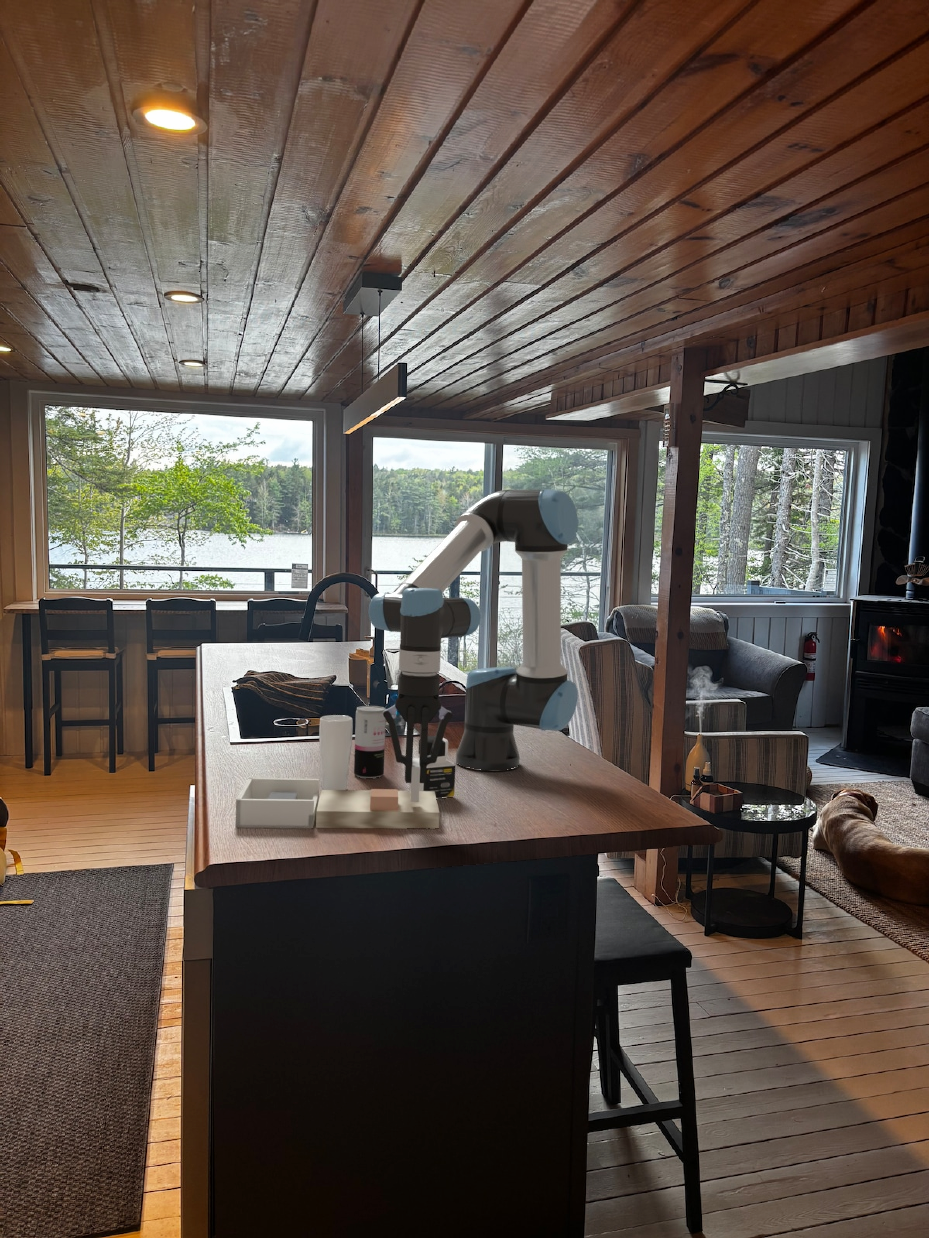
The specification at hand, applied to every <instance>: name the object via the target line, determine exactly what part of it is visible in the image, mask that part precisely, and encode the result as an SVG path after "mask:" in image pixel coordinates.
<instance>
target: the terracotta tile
mask: <svg viewBox="0 0 929 1238" xmlns="http://www.w3.org/2000/svg"><path fill="white" fill-rule="evenodd" d="M370 790H371V797H370V810H398V791H399V789H398V788H394V789H391V788H390V789H389V788H388V789H387V788H385V789H384V788H370Z"/></svg>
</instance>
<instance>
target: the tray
mask: <svg viewBox="0 0 929 1238" xmlns="http://www.w3.org/2000/svg"><path fill="white" fill-rule="evenodd" d="M271 792H297V799H268V797H269V795H270V793H271ZM319 798H320V778H289V777H287V778H282V777H281V778H278V777H277V778H276V777H248V778H247V780H246V782H245V783H244V785H243V787H242V788H241V791H240V793H239V794H238V796H237V798H236V799H235V829H238V828H239V829H311V828H313V829H314V826H315V823H316V811H317V807H318V802H319Z"/></svg>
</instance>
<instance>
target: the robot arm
mask: <svg viewBox="0 0 929 1238" xmlns="http://www.w3.org/2000/svg"><path fill="white" fill-rule="evenodd" d="M578 531H579V517H578V512H577V508H576V505H575V503H574V501H573V499H572V497H571V496H570V495H569V494H568V493H567V492H565V491H564V490H559V489H551V488H550V489H548V488H543V489H542V488H541V489H501V490H498V491H495V492H492V493H490V494H488V495H487V496H484V497H483V498H481V499H479V500H477V502H475V503H474V504H472V505H470V506H469V507H468V508H467V509H466V510H465V511H464V512H463V513H461V514H460V516H459V517H458V518H457V519H456V522H455V525H454V528H453V529H452V530H451V532H449V534H447V536H446V537H444V539H443V540H442V541H440V543H438V544H437V546H436V547H435V548H434V549H433V550H432V551H431V552H430V553H429V554H428V555H427V557H425V558H424V559H423V561H422V562H420V563H419V565H417V567H416V568H415V569H414V570H413V571H412V572H410V574H409V575H408V576H407V577H406V578H405V579H404V580H403V581H402V582H401V583H400V584H399V586H398V587H397V588H395V589H394V590H393V592H388V591H387V592H379V593H377V594H375V595H374V596H372V598H371V601H370V602H369V606H368V612H367V613H368V618H369V621H370V623H371V624H372V626H373V627H374V628H376V629H377V630H383V631H387V632H391V633H399V635H400V637H399V638H400V643H399V653H398V654H399V655H398V656H399V659H398V670H399V671H400V673H399V674H398V681H397V682H398V683H397V685H398V686H397V698H396V699H395V701H394V705H391V707H389V708H385V709H384V710H383V716H384V717H385V719H386V722H387V723H388V728H389V733H390V738H391V742H392V747H393V752H394V756H395V760H396V762H397V763H398V764H399V763H400V764H402V765H404V767H405V768H404V782H405V784H410V783H411V788H410V801H411V802H419V785H420V783H425V781H426V767H427V765H428V764H431V763H435V762H436V761H437V757H438V754H439V750H440V747H441V743H442V740H443V738H444V735H445V733H446V729H447V726H448V724H449V723H450V722H451V720H452V718H453V713H452V711H451V710H450V709H446V708H445V707H444V706H442V701H441V700H440V680H441V679H440V678H441V677H440V675H439V674H438V673H439V672H440V670H441V651H442V648H441V647H442V639H451V638H463V637H466V636H470V635H472V634H474V633H475V632H476V631H477V629H478V628H479V626H480V624H481V618H482V617H481V611H480V608H479V606H478V605H477V603H476V602H475V601H473V600H472V599H471V598H467V597H461V596H460V597H459V596H456V597H444V592H445V591H446V590H447V588H449V586H450V585H451V584H452V583H453V582H454V581H455V580H456V578H457V577H458V576H460V574H461V573H462V572H463V571H464V570H465V568H466V567H467V566H468V565H469V564H470V563H471V562H472V561H473V560H474V559H475V558H476V557H477V556H478V554H479V553H480V552H485V551H487V550H489V549H490V548H491V547H492V546H493V545H494V544H496V543H504V542H509V543H511V542H512V543H514V552H515V553H516V554H517V555H518V556H519V557H520V559H521V579H522V580H521V592H522V593H521V597H522V599H521V600H522V602H521V604H522V607H521V608H522V609H521V610H522V611H521V612H522V614H521V615H522V617H521V618H522V664H521V665H520V666H519V667H517V669H516V667H513V666H497V667H496V666H495V667H485V668H484V667H483V668H477V669H476V668H475V669H472V670H470V671H469V672H468V673H467V676H466V684H465V685H466V686H465V707H464V708H465V710H464V731H463V734H462V737H461V739H460V742H459V744H458V748H457V751H456V754H455V764H456V763H458V764H460V765H461V766H464V767H470V768H474V769H481V770H507V769H511V768H514V767H517V766H518V765H519V766H520V759H521V758H520V753H519V749H518V746H517V742H516V738H515V735H514V727H515V726H519V727H525V728H531V729H532V728H533V729H536V730H541V731H553V732H557V731H562V730H564V729H565V728H566V727H567V726H568V724H570V722H571V721H572V718H573V717H574V714H575V712H576V708H577V704H578V697H579V695H578V688H577V685H576V684H575V682H573V681H572V680H568V670H567V668H566V667H565V666H564V665H563V664H562V655H561V653H562V642H561V640H562V638H561V637H562V625H561V623H562V621H561V620H562V618H561V616H562V613H561V610H562V605H561V603H562V601H561V600H562V597H561V596H562V594H561V593H562V592H561V591H562V587H561V586H562V585H561V584H562V583H561V582H562V581H561V580H562V578H561V577H562V576H561V575H562V574H561V572H562V570H561V569H562V568H561V567H562V564H561V562H562V560H561V559H562V557H564V556H565V554H566V553H567V552H568V548H569V547H568V544H571V543H573V542H574V541H575V539H576V537H577V533H578ZM397 712H398V713H399V715H400V717H402V719H403V721H404V722H405V723H406V730H405V731H406V733H405V734H406V735H405V755H403V753H402V748H401V744H400V738H399V734H398V733H399V732H398V730H397V724H396V721H395V719H396V718H397ZM437 714H438V718H439V721H438V724H437V729H436V732H435V734H434V736H435V738H434V741H433V745H432V748H431V752H430V755H429V756H427V740H428V736H429V734H428V733H429V723H430V722H431V721H432V720H433V719H434V718H435V716H436V715H437ZM417 724H419V725H420V729H419V730H420V731H419V732H420V734H419V740H420V757H418V758H419V764H413V763H412V761H413V757H414V756H413V755H414V754H413V753H414V735H415V734H414V732H415V731H414V730H415V725H417ZM461 766H460V767H461ZM464 767H463V768H464ZM517 768H518V767H517ZM507 771H508V770H507Z"/></svg>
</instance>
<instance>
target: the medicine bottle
mask: <svg viewBox="0 0 929 1238" xmlns="http://www.w3.org/2000/svg"><path fill="white" fill-rule="evenodd" d="M434 738H435V735H428V740H427V756H429V755H430V752H431V748H432V745H433V741H434ZM448 755H449V740H448V739H447V738H444V737H443V740H442V743H441V747H440V750H439V754H438V757H437V761H436V762H435V763H431V764H428V765H427V767H426V781H425V783H420V785H419V791H435V795H436V798H442V797H453V796H454V797H455V785H456V784H455V783H456V763H454V762H452V761H450V760H448ZM419 757H420V739H419V740H418V756H417V757H414V758H413V761H412V763H413V764H419ZM408 785H409V787H408V789H409V790H408V791H410V788H411V783H409V784H408ZM454 797H453V798H454Z"/></svg>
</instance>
